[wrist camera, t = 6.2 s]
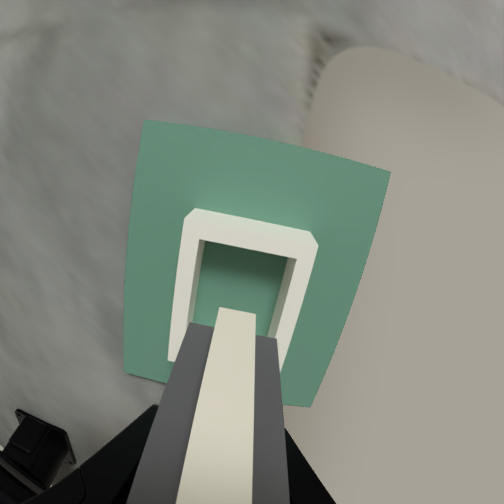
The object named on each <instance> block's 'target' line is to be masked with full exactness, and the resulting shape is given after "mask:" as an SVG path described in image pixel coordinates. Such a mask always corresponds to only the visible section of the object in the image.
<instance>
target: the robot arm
mask: <svg viewBox="0 0 504 504" xmlns="http://www.w3.org/2000/svg"><path fill="white" fill-rule="evenodd" d="M158 407H159V405H156V404H154V405H152V406H151V407H150V408H148V409H147V410H146V411H145V412H144V413H143V414H141V415H140V416H139V417H138V418H137V419H136V420H134V421H133V422H132V423H131V424H130V425H129V426H127V427H126V428H125V429H124V430H123V431H122V432H120V433H119V434H118V435H117V436H116V437H114V438H113V439H112V440H111V441H110V442H108V443H107V444H106V445H105V446H104V447H102V448H101V449H100V450H99V451H98V452H96V453H95V454H94V455H93V456H91V457H90V458H89V459H88V460H87V461H85V462H84V463H83V464H82V465H80V466H79V468H76V469H75V470H74V471H73V472H71V473H70V474H69V475H68V476H66V477H65V478H64V479H62V480H61V481H59V482H58V483H57V484H55V485H53V486H52V487H50V486H51V484H52V482H53V480H54V478H55V476H56V474H57V472H58V470H59V468H60V466H61V464H62V462H63V461H64V462H66V463H68V464H71V465H74V464H75V459H74V456H73V453H72V450H71V447H70V444H69V441H68V438H67V435H66V433H65V432H64V431H63V430H62V429H59V428H57V427H55V426H53V425H50V424H48V423H46V422H44V421H42V420H39V419H37V418H35V417H33V416H31V415H29V414H27V413H25V412H23V411H21V410H19V409H16V411H15V414H16V417H17V419H18V422H19V424H20V425H19V426H18V427H17V429H16V430H15V432H14V433H13V435H12V436H11V437H10V439H9V442H8V444H7V445H6V447H5V448H4V450H3V451H0V504H126V503H127V499H128V496H129V493H130V490H131V487H132V484H133V481H134V478H135V475H136V472H137V469H138V466H139V463H140V460H141V457H142V454H143V451H144V448H145V445H146V442H147V439H148V436H149V433H150V430H151V427H152V424H153V421H154V419H155V416H156V413H157V410H158ZM284 429H285V428H284ZM285 442H286V456H287V470H288V484H289V499H290V504H336V503H335V501H334V500H333V498H332V497H331V496H330V494H329V493H328V491H327V490H326V489H325V487H324V486H323V484H322V483H321V481H320V480H319V478H318V477H317V475H316V474H315V472H314V471H313V470H312V468H311V466H310V465H309V463H308V462H307V461H306V459H305V457H304V456H303V455H302V453H301V451H300V450H299V448H298V447H297V445H296V444H295V442H294V441H293V439H292V438H291V436H290V434H289V433H288V431H287V430H286V429H285Z"/></svg>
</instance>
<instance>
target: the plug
mask: <svg viewBox="0 0 504 504" xmlns="http://www.w3.org/2000/svg"><path fill="white" fill-rule="evenodd" d="M255 330H256V314H253V313H248V312H243V311H238V310H232V309H227V308H222V307H219V311H218V315H217V320H216V324H215V327H211V326H206V325H202V324H197V323H192V322H189V325H188V328H187V330H186V333H185V336H184V338H183V341H182V344H181V346H180V349H179V352H178V354H177V357H176V360H175V363H174V365H173V368H172V371H171V374H170V376H169V379H168V382H167V385H166V387H165V390H164V393H163V396H162V399H161V401H160V404H159V407H158V410H157V413H156V416H155V419H154V421H153V424H152V427H151V430H150V433H149V436H148V439H147V442H146V445H145V448H144V451H143V454H142V457H141V460H140V463H139V466H138V469H137V472H136V475H135V478H134V481H133V484H132V487H131V490H130V493H129V496H128V499H127V503H126V504H290V499H289V484H288V470H287V456H286V442H285V429H284V417H283V404H282V392H281V380H280V368H279V357H278V345H277V339H276V338H270V337H264V336H259V335H255Z"/></svg>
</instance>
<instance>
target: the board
mask: <svg viewBox="0 0 504 504" xmlns="http://www.w3.org/2000/svg"><path fill="white" fill-rule="evenodd" d="M390 173H391V172H389V171H386V170H383V169H380V168H376V167H373V166H369V165H367V164H363V163H360V162H356V161H353V160H349V159H346V158H342V157H338V156H335V155H331V154H327V153H323V152H320V151H316V150H312V149H307V148H303V147H299V146H295V145H291V144H286V143H282V142H277V141H273V140H268V139H263V138H258V137H253V136H248V135H243V134H238V133H232V132H227V131H221V130H215V129H209V128H203V127H197V126H190V125H183V124H176V123H168V122H160V121H152V120H144V124H143V129H142V135H141V140H140V146H139V152H138V158H137V165H136V172H135V179H134V186H133V194H132V202H131V211H130V220H129V230H128V241H127V254H126V269H125V288H124V323H123V352H124V372H126V373H130V374H133V375H137V376H140V377H144V378H148V379H151V380H155V381H159V382H163V383H167V382H168V379H169V376H170V374H171V371H172V368H173V365H174V363H175V360H176V357H177V354H178V352H179V349H180V346H181V344H182V341H183V338H184V336H185V333H186V330H187V328H188V325H189V322H192V323H197V324H202V325H206V326H211V327H215V324H216V320H217V315H218V311H219V307H222V308H227V309H232V310H238V311H243V312H248V313H253V314H256V330H255V335H259V336H264V337H270V338H276V339H277V345H278V357H279V368H280V380H281V392H282V404H283V405H291V406H300V407H311V405H312V402H313V400H314V398H315V396H316V393H317V391H318V389H319V387H320V384H321V382H322V379H323V377H324V375H325V373H326V370H327V368H328V365H329V363H330V360H331V358H332V355H333V353H334V351H335V348H336V345H337V343H338V340H339V338H340V335H341V332H342V330H343V327H344V325H345V322H346V319H347V316H348V314H349V311H350V308H351V305H352V302H353V300H354V297H355V294H356V291H357V288H358V285H359V282H360V279H361V276H362V273H363V270H364V267H365V264H366V260H367V257H368V254H369V251H370V247H371V244H372V241H373V237H374V234H375V231H376V227H377V223H378V220H379V216H380V213H381V209H382V205H383V201H384V197H385V194H386V190H387V186H388V182H389V177H390Z"/></svg>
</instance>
